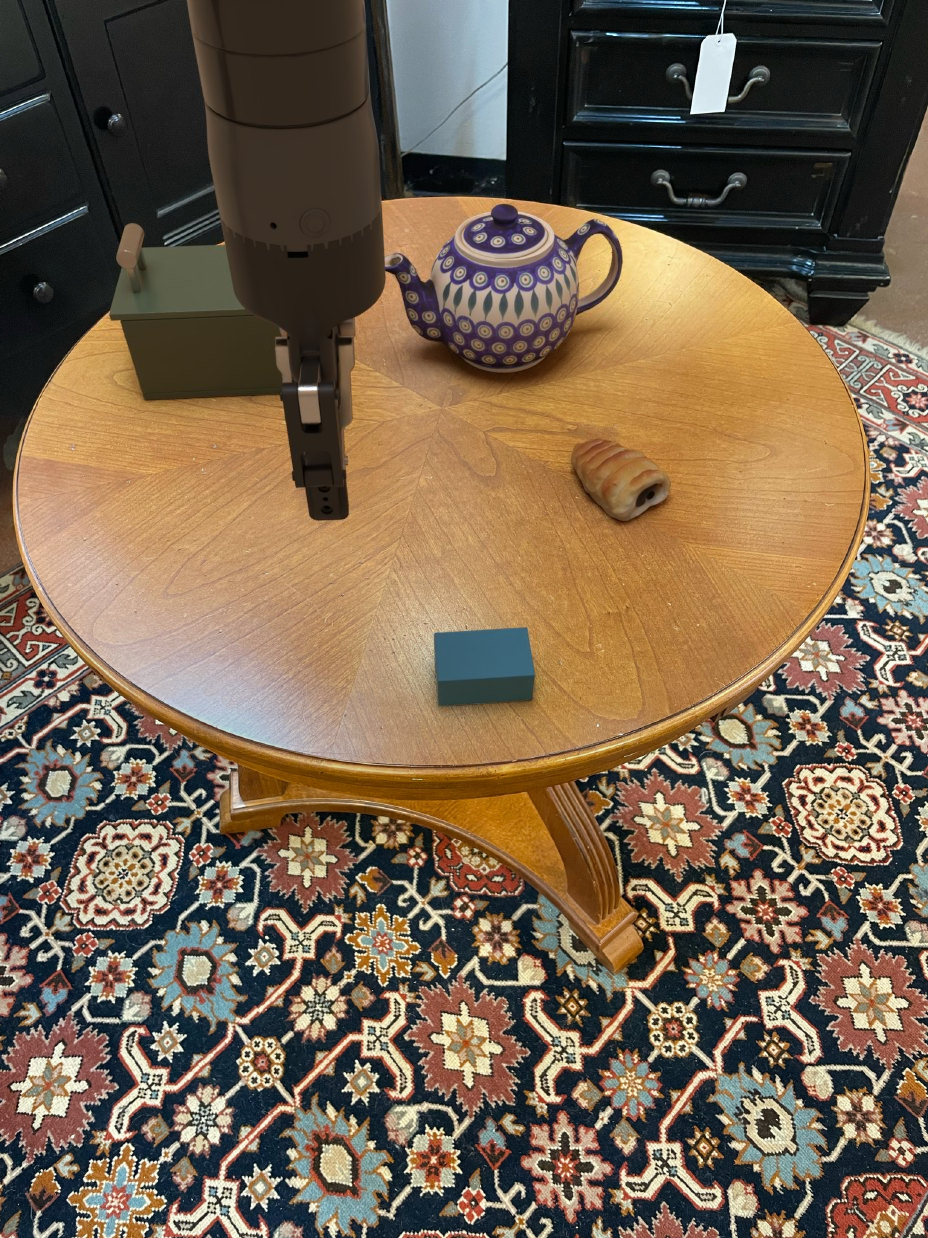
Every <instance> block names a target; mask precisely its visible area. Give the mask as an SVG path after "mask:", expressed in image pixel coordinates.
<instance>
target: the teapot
mask: <svg viewBox="0 0 928 1238" xmlns="http://www.w3.org/2000/svg"><path fill="white" fill-rule="evenodd" d="M594 235H602V236H603V237H604V238H605V240H606V241H607V242H608V244H609V246H610V248H611V261H610V262H611V263H610V267H609V270H608V273H607V276H606V277H605V278H604V280H603V281H602V283H600V284H599V286H597V287H596V288H595V289H594V290H593V291H591V292H590V293H588V294H587V295H585V296H583V297H581V298H580V280H579V272H578V266H577V263H578V261H579V258H580V255H581V252H582V250H583V248H584V246H585V244H586V242H587V241H588V240H589V239H590V238H591V237H592V236H594ZM623 264H624V260H623V249H622V246H621V241H620V240H619V238H618V237H617V235H616V233H615V231H614V230H613V229H612V228H611V227H610V226H609V225H608V224H607V223H606V222H604V221H602V220H601V219H599V218H591V219H590V220H587V221H586V222H585V223H583V224H582V225H581V226H579V227H578V228H577V229H576V230H575V231H574V232H573V233H572V234H571V235H570V236H569V237H567V238H565V239H563V238H561V237H560V236H558V235H556V234H555V231H554V230H553V228H552V227H551V225H550V224H549V223H548V222H546V221H545V220H544V219H542V218H540V217H538V216H536V215H533V214H531V213H527V212H523V211H518V209H517V207H515V206H514V205H512V204H509V203H499V204H496V205H494V206H493V208H492V209H491V210H490V211H487V212H482V213H478V214H477V215H473V216H470V217H469V218H467V219H465V220H464V221H463V222H462V223H460V225H459V226H458V227H457V228H456V230H455V234H454V235H453V236H451V238H450V239H448V240H447V241H446V242H445V243H444V245H443V246H441V248H440V250H439V251H438V252H437V255H436V256H435V259H434V261H433V264H432V266H431V271H430V278H428V280H426V281H423V280H422V279H421V277H420V276H419V273H418V271H417V268H416V267H415V266H414V265H413V263H412V262H411V261H410V259H409V258H408V257H406V255H404V254H402V253H400V252H394V253H390V254H388V255H386V256H385V273H389V274H391V275H393V276H394V277H395V279H396V281H397V283H398V286H399V289H400V293H401V297H402V302H403V306H404V310H405V314H406V318H407V320H408V322H409V324H410V326H411V328H412V329H413V331H415V332H416V333H417V334H418V335H419V336H420V337H421V338H422V339H425V340H427V341H429V342H438V343H442V344H443V345H445V346H446V347H447V348H448V349H449V350H450V351H451V352H452V353H454V354H455V355H457V356H458V357H460V358H461V359H463V360H464V361H465V362H466V363H468V364H469V365H471V366H473V367H474V368H476V369H479V370H483V371H487V372H491V373H498V374H499V373H503V374H504V373H505V374H506V373H516V372H521V371H525V370H528V369H530V368H532V367H534V366H536V365H538V364H539V363H541V362H542V361H543V360H544V359H545V358H546V357H547V356H548V355H550V354H551V353H552V352H554V351H556V350H557V349H559V348H560V346H561V345H562V344H563V343H564V342H565V340H566V339H567V337H568V335H569V334H570V332H571V330H572V327H573V324H574V323H575V320H576V317H577V316H578V315H580V314H582V313H584V312H587V311H589V310H591V309H593V308H595V307H597V306H598V305H599V304H600V303H602V302H603V301H604V300H606V299H607V298H608V297H609V296H610V294H612V292H613V291H614V289H615V288H616V286H617V284H618V282H619V281H620V278H621V274H622V269H623Z"/></svg>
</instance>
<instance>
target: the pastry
mask: <svg viewBox="0 0 928 1238" xmlns="http://www.w3.org/2000/svg"><path fill="white" fill-rule="evenodd" d="M570 463H571V465H572V466H573V468H574V471H575V472H576V474H577V477H578V479H579V480H580V481H581V483H582V486H583V489H584V491H585V493H586V494H589V496H590V497H591V499H592V500H593V501H594V502H596V504H597V505H598V506H600V507H601V508H602V509H603V511H604V512H605V513H606V514H607V515H608V516H610V517H611V518H614V519H616V520H618V521H623V522H627V521H631V520H632V519H634V518H636V517H638V516H640V515H641V514H642V513H644V512H645V511H646V510H647V509H648V508H650V507H652V506H656V505H658V504H660V503H661V502H664V501H665V500H666V499H667V497H668V496H669V493H670V491H671V487H672V481H671V479H670V477H669V474H668V473H667V472H665V471H663V470H662V468H661V466H659V465H658V464H657V463H656V462H655V461H654V460H652V459H651V458H649V457H648V456H647V455H646V454H645V453H644V452H643V451H642V450H639V449H636V450H635V449H633V448H628V447H626V446H624V445H622V444H620V443H619V442H617V441H612V440H609V439H604V438H600V437H599V438H598V437H597V438H593V439H589V440H585V442H579V443H575V445H573V448H572V452H571V456H570Z"/></svg>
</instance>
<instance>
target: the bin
mask: <svg viewBox="0 0 928 1238" xmlns="http://www.w3.org/2000/svg"><path fill="white" fill-rule="evenodd" d="M119 321H120V326H121V329H122V332H123V335H124V338H125V343H126V345H127V349H128V351H129V354H130V358H131V361H132V365H133V368H134V371H135V374H136V377H137V380H138V384H139V388H140V391H141V394H142V397H143V400H144V401H156V400H157V401H159V400H178V399H179V400H180V399H200V398H203V399H204V398H222V397H224V398H225V397H244V396H246V397H247V396H267V395H268V396H270V395H280V390H282V383H283V382H282V373H281V371H280V370H279V369H278V368H277V365H276V351H275V338H276V337H282V335H281V332H280V329H279V327H278V326H276V325H274V324H272V323H270V322H268V321H264V320H262V319H260V318H258V317H256V316H254V315H243V316H218V317H193V318H169V319H144V320H119Z"/></svg>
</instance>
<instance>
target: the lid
mask: <svg viewBox="0 0 928 1238" xmlns="http://www.w3.org/2000/svg"><path fill="white" fill-rule="evenodd" d="M144 239H145V231H144V229H143V228H142V226H140V225H139V224H138V223H133V222H131V223H128V224H126V225H125V226H124V228H123V231H122V236H121V239H120V242H119V245H118V249H117V253H116V257H115V259H116V262H117V264H118V265H119V266H120V267H121V268H120V269H121V270H120V273H119V277H118V280H117V284H116V288H115V291H114V295H113V299H112V302H111V306H110V309H109V313H108V316H109V319H110V321H111V322H115V321H116V322H117V321H121V320H144V319H169V318H193V317H218V316H243V315H253V314H251V313H250V312H248V311H247V310H246V309H245V308H244V307H243V306H242V305H241V304H240V302H239V301H238V299H237V297H236V295H235V293H234V289H233V284H232V279H231V274H230V268H229V263H228V257H227V252H226V247H225V244H209V245H204V244H203V245H181V246H180V245H179V246H177V245H176V246H151V247H143V242H144Z"/></svg>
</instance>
